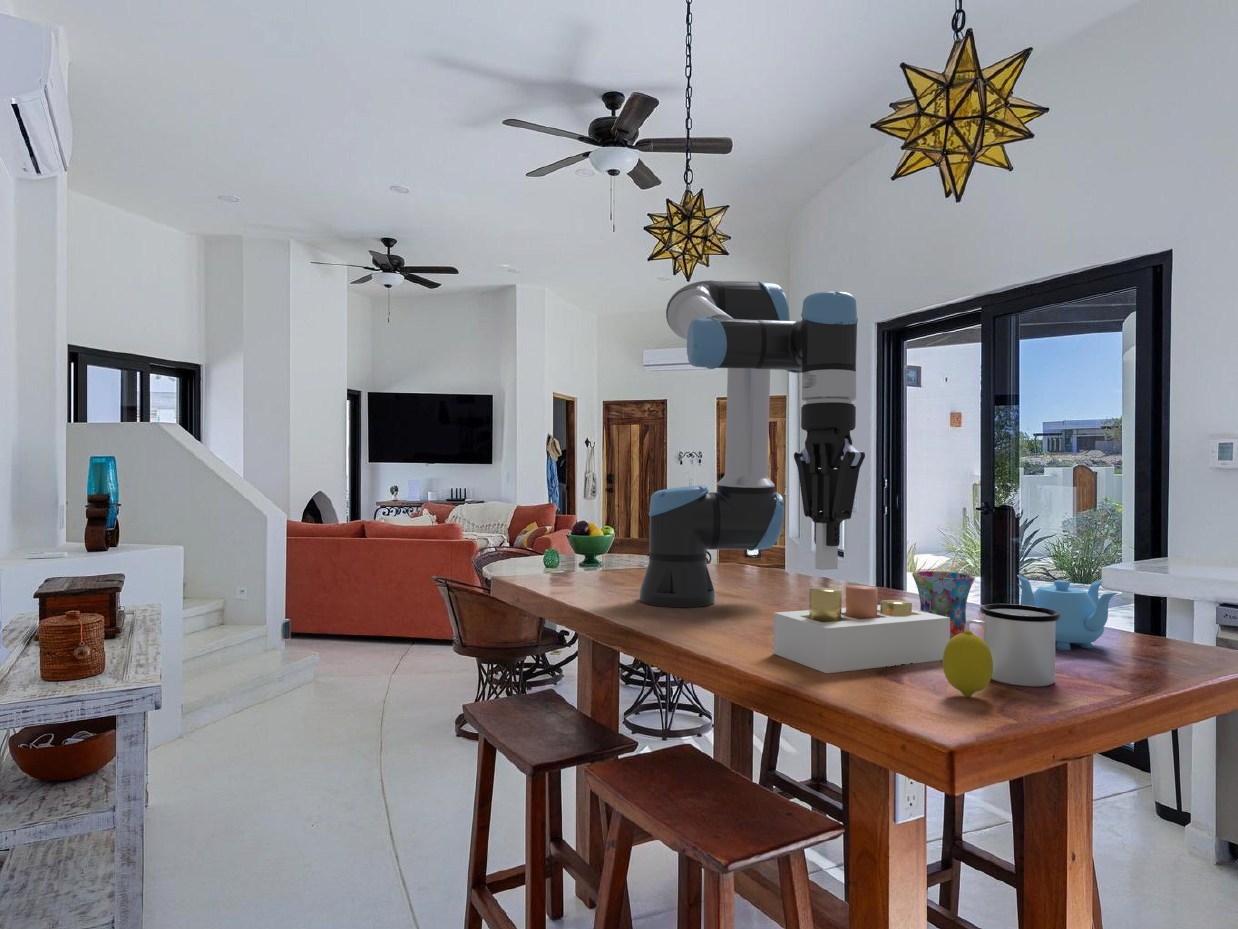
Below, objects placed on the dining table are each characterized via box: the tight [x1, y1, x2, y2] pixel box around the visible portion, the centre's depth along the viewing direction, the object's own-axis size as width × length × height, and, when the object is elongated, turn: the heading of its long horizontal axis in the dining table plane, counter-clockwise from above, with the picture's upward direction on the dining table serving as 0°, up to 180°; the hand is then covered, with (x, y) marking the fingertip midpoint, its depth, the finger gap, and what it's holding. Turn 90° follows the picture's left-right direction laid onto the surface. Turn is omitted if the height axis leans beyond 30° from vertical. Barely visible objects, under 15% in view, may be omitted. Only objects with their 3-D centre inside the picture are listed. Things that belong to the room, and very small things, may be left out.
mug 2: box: [965, 603, 1061, 688], centre depth 105 cm, size 12×10×9 cm
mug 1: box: [911, 570, 976, 639], centre depth 127 cm, size 12×9×11 cm
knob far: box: [879, 599, 913, 617], centre depth 118 cm, size 4×4×5 cm
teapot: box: [1016, 574, 1118, 651], centre depth 125 cm, size 13×13×10 cm
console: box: [773, 604, 950, 674], centre depth 115 cm, size 12×22×6 cm, turn 114°
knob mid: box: [845, 585, 879, 620], centre depth 115 cm, size 4×4×5 cm
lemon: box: [942, 629, 993, 698], centre depth 95 cm, size 6×6×8 cm
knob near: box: [808, 587, 843, 623], centre depth 113 cm, size 4×4×5 cm
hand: (826, 568), depth 113 cm, fingers closed
